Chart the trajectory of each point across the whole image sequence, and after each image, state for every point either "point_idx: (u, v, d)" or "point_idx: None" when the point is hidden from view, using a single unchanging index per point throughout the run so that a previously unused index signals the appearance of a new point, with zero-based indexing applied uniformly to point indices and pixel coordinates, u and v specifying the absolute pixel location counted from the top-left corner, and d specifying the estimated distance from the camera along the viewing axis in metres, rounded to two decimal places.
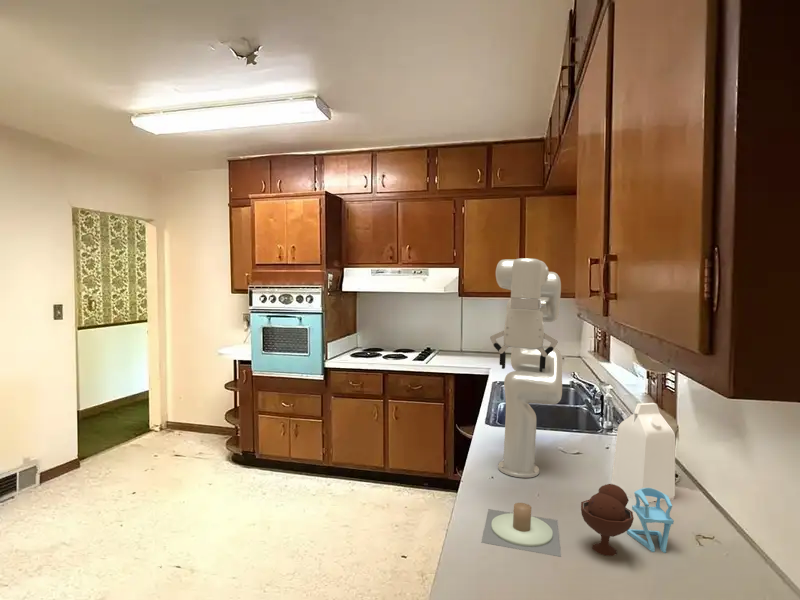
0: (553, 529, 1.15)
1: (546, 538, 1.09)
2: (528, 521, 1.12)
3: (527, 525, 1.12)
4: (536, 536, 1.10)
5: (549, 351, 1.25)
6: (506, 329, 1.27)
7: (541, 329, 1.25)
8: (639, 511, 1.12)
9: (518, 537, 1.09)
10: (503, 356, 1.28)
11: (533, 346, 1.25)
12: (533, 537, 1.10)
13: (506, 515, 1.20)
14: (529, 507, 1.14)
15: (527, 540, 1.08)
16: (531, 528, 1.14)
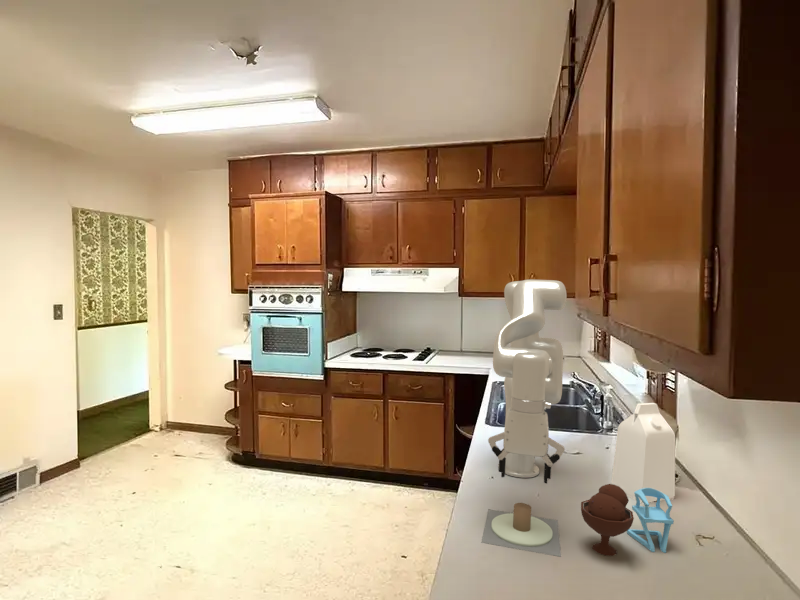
0: (553, 529, 1.15)
1: (546, 538, 1.09)
2: (528, 521, 1.12)
3: (527, 525, 1.12)
4: (536, 536, 1.10)
5: (555, 460, 1.10)
6: (506, 433, 1.12)
7: (546, 435, 1.10)
8: (639, 511, 1.12)
9: (518, 537, 1.09)
10: (503, 463, 1.13)
11: (537, 454, 1.10)
12: (533, 537, 1.10)
13: (506, 515, 1.20)
14: (529, 507, 1.14)
15: (527, 540, 1.08)
16: (531, 528, 1.14)
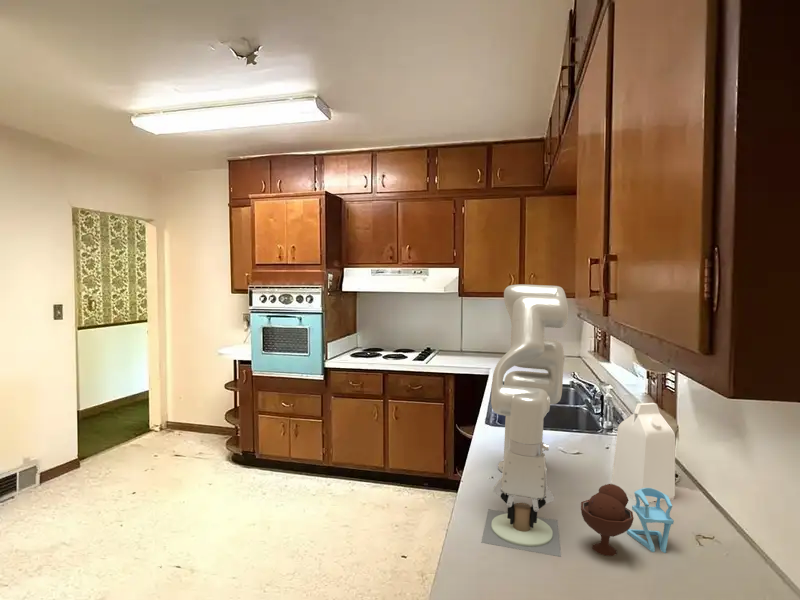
0: (553, 529, 1.15)
1: (546, 538, 1.09)
2: (528, 521, 1.12)
3: (527, 525, 1.12)
4: (536, 536, 1.10)
5: (541, 505, 1.12)
6: (504, 475, 1.13)
7: (544, 478, 1.11)
8: (639, 511, 1.12)
9: (518, 537, 1.09)
10: (511, 510, 1.13)
11: (535, 496, 1.11)
12: (533, 537, 1.10)
13: (506, 515, 1.20)
14: (529, 507, 1.14)
15: (527, 540, 1.08)
16: (531, 528, 1.14)
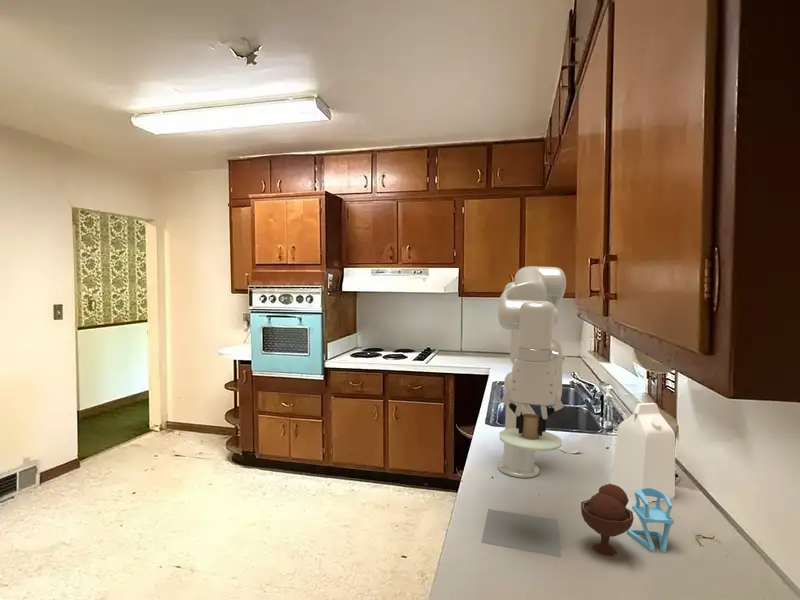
0: (553, 529, 1.15)
1: (555, 444, 1.08)
2: (537, 429, 1.11)
3: (536, 434, 1.11)
4: (545, 443, 1.09)
5: (550, 413, 1.11)
6: (513, 383, 1.12)
7: (553, 384, 1.09)
8: (639, 511, 1.12)
9: (527, 443, 1.08)
10: (520, 419, 1.12)
11: (543, 403, 1.10)
12: (542, 443, 1.09)
13: (514, 429, 1.19)
14: (538, 416, 1.13)
15: (536, 445, 1.07)
16: (540, 438, 1.13)
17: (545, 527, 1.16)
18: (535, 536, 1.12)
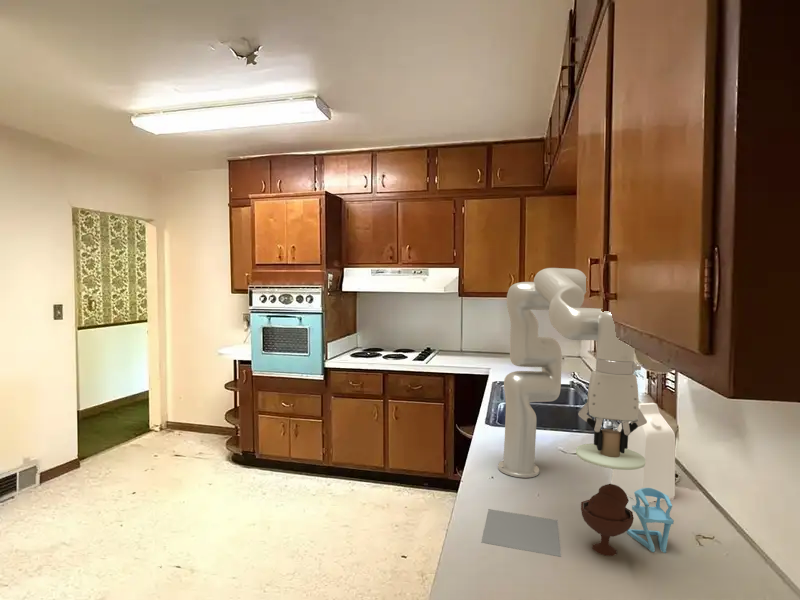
0: (553, 529, 1.15)
1: (641, 463, 1.02)
2: (618, 446, 1.05)
3: (617, 451, 1.05)
4: (629, 461, 1.02)
5: (632, 428, 1.04)
6: (592, 397, 1.05)
7: (636, 398, 1.03)
8: (639, 511, 1.12)
9: (610, 461, 1.02)
10: (600, 435, 1.06)
11: (626, 418, 1.04)
12: (626, 461, 1.02)
13: (589, 445, 1.12)
14: (618, 432, 1.06)
15: (621, 463, 1.01)
16: (620, 455, 1.06)
17: (545, 527, 1.16)
18: (535, 536, 1.12)
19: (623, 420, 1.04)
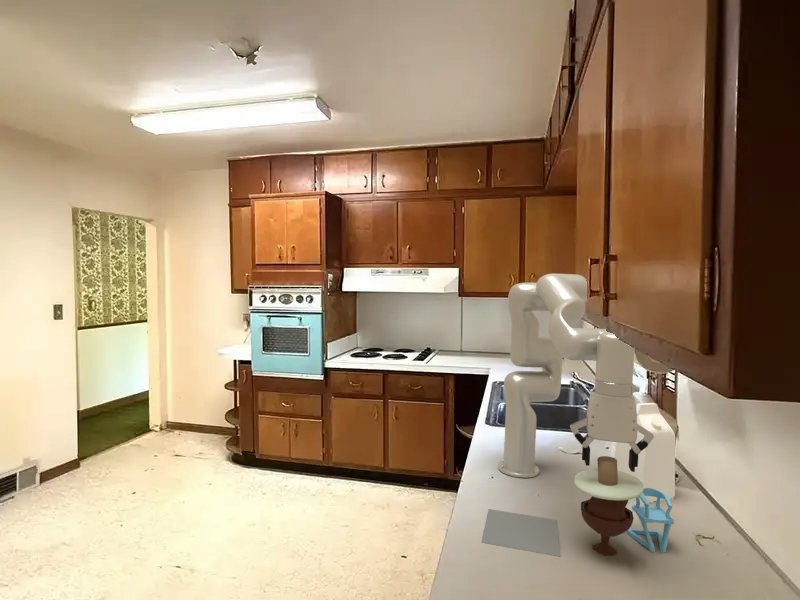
0: (553, 529, 1.15)
1: (639, 490, 1.02)
2: (615, 474, 1.05)
3: (615, 479, 1.05)
4: (627, 489, 1.03)
5: (643, 447, 1.04)
6: (591, 418, 1.06)
7: (635, 420, 1.03)
8: (639, 511, 1.12)
9: (608, 491, 1.02)
10: (588, 451, 1.06)
11: (625, 440, 1.04)
12: (624, 490, 1.02)
13: (587, 471, 1.12)
14: (614, 459, 1.06)
15: (619, 493, 1.01)
16: (618, 481, 1.06)
17: (545, 527, 1.16)
18: (535, 536, 1.12)
19: (622, 442, 1.04)
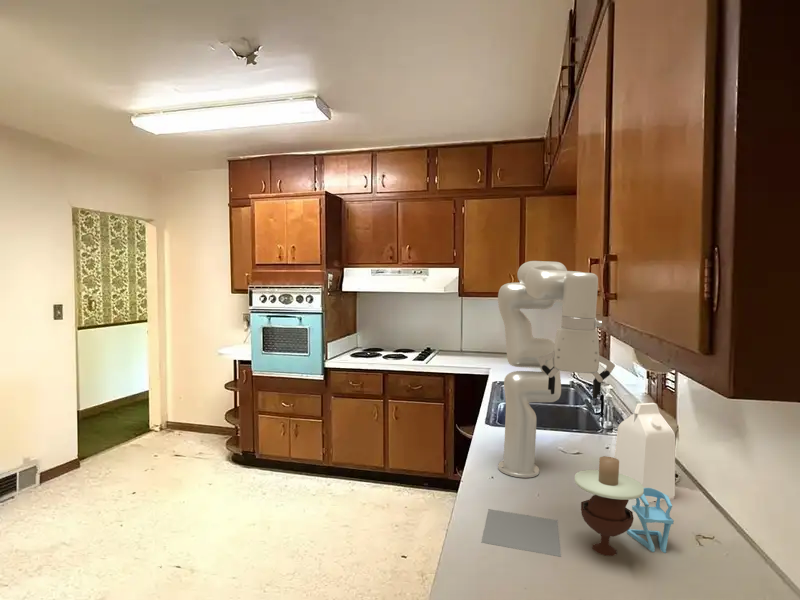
0: (553, 529, 1.15)
1: (639, 491, 1.02)
2: (617, 474, 1.05)
3: (616, 479, 1.05)
4: (627, 490, 1.03)
5: (605, 376, 1.13)
6: (557, 351, 1.14)
7: (597, 352, 1.12)
8: (639, 511, 1.12)
9: (608, 490, 1.02)
10: (553, 380, 1.15)
11: (588, 370, 1.13)
12: (624, 490, 1.02)
13: (587, 471, 1.12)
14: (616, 460, 1.06)
15: (619, 493, 1.01)
16: (619, 482, 1.06)
17: (545, 527, 1.16)
18: (535, 536, 1.12)
19: (585, 372, 1.13)
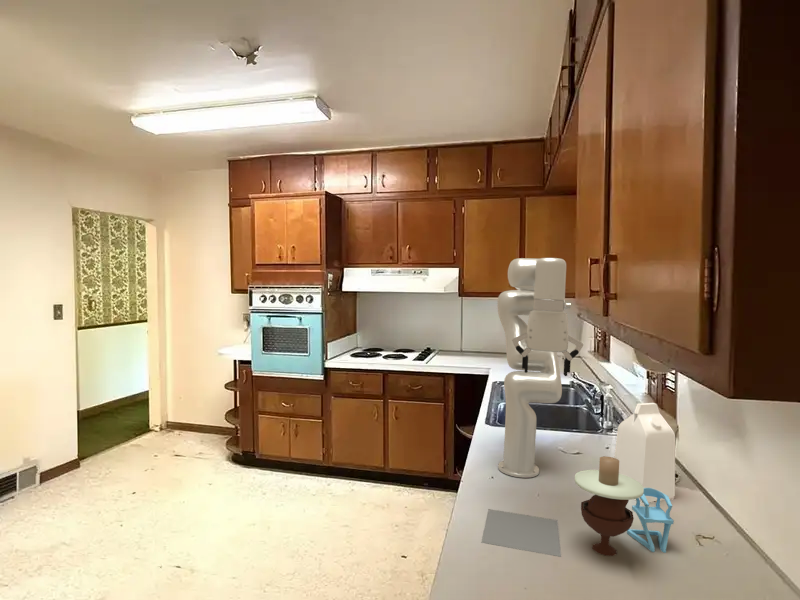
0: (553, 529, 1.15)
1: (639, 492, 1.02)
2: (617, 474, 1.05)
3: (616, 479, 1.05)
4: (627, 490, 1.03)
5: (574, 354, 1.21)
6: (529, 331, 1.22)
7: (566, 332, 1.20)
8: (639, 511, 1.12)
9: (608, 490, 1.02)
10: (526, 359, 1.23)
11: (558, 349, 1.20)
12: (624, 490, 1.02)
13: (587, 471, 1.12)
14: (616, 460, 1.06)
15: (619, 493, 1.01)
16: (619, 482, 1.06)
17: (545, 527, 1.16)
18: (535, 536, 1.12)
19: (555, 351, 1.21)
